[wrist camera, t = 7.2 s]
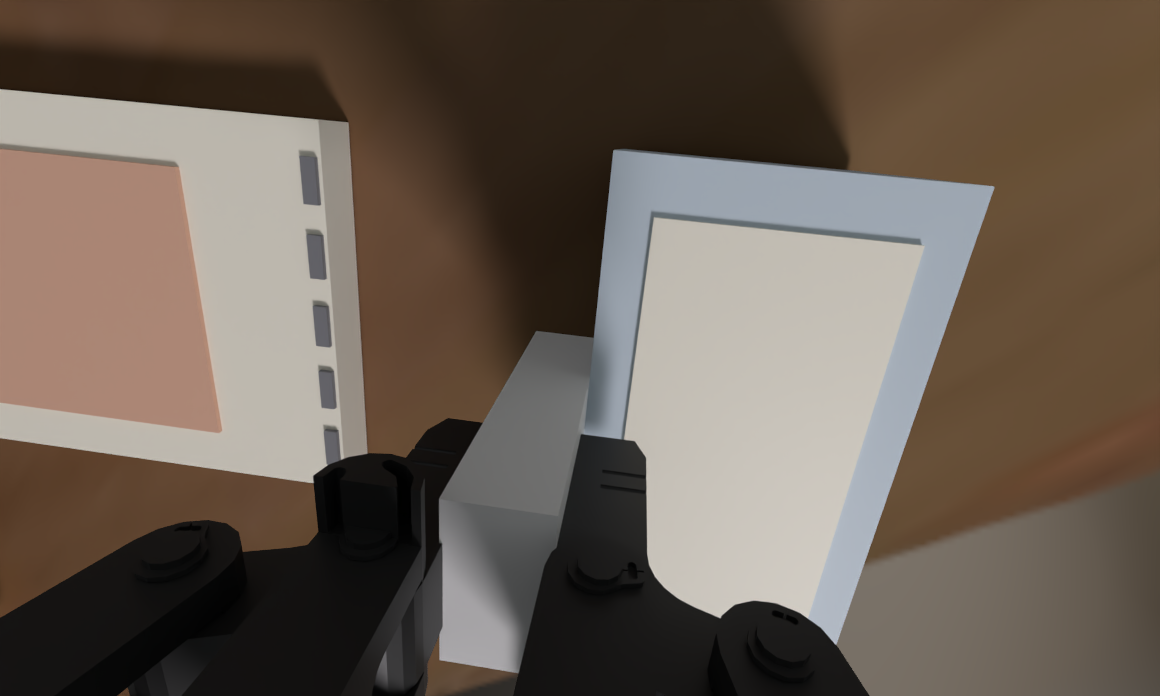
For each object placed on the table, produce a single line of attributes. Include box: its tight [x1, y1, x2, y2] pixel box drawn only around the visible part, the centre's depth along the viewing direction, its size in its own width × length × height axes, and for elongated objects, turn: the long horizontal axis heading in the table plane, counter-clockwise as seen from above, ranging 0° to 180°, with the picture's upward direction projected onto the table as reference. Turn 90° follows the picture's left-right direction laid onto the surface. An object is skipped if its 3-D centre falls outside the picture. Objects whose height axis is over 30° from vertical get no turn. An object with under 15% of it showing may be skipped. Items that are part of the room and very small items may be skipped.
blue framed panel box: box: [584, 149, 994, 645], centre depth 13 cm, size 6×11×6 cm, turn 175°
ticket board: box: [0, 89, 367, 483], centre depth 17 cm, size 13×11×2 cm
